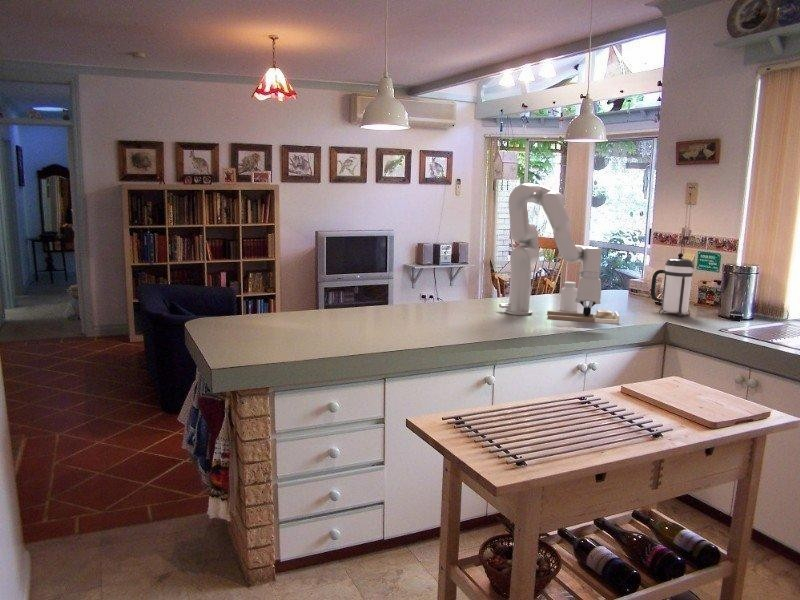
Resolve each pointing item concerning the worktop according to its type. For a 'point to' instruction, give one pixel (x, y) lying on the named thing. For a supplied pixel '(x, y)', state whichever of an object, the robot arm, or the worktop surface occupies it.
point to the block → (604, 314)
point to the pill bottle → (568, 297)
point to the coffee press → (675, 285)
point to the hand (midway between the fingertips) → (586, 316)
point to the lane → (582, 317)
